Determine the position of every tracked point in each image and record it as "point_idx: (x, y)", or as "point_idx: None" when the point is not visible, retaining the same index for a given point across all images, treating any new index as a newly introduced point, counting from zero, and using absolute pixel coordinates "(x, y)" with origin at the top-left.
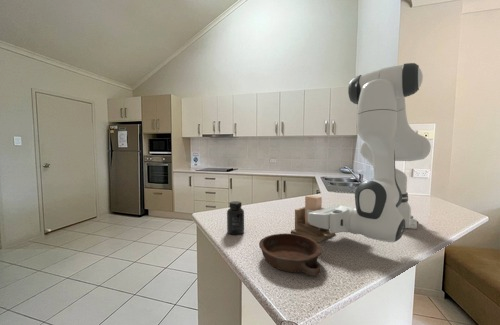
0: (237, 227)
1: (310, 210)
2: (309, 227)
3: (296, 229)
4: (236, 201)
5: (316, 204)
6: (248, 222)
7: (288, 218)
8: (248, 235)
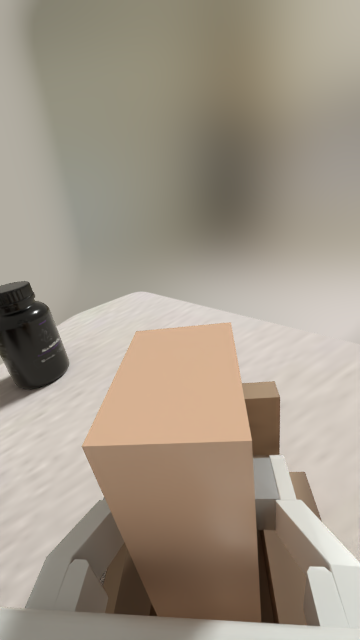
0: (9, 369)
1: (103, 498)
2: (121, 588)
3: None
4: (22, 283)
5: (113, 507)
6: None
7: (288, 366)
8: (30, 405)
